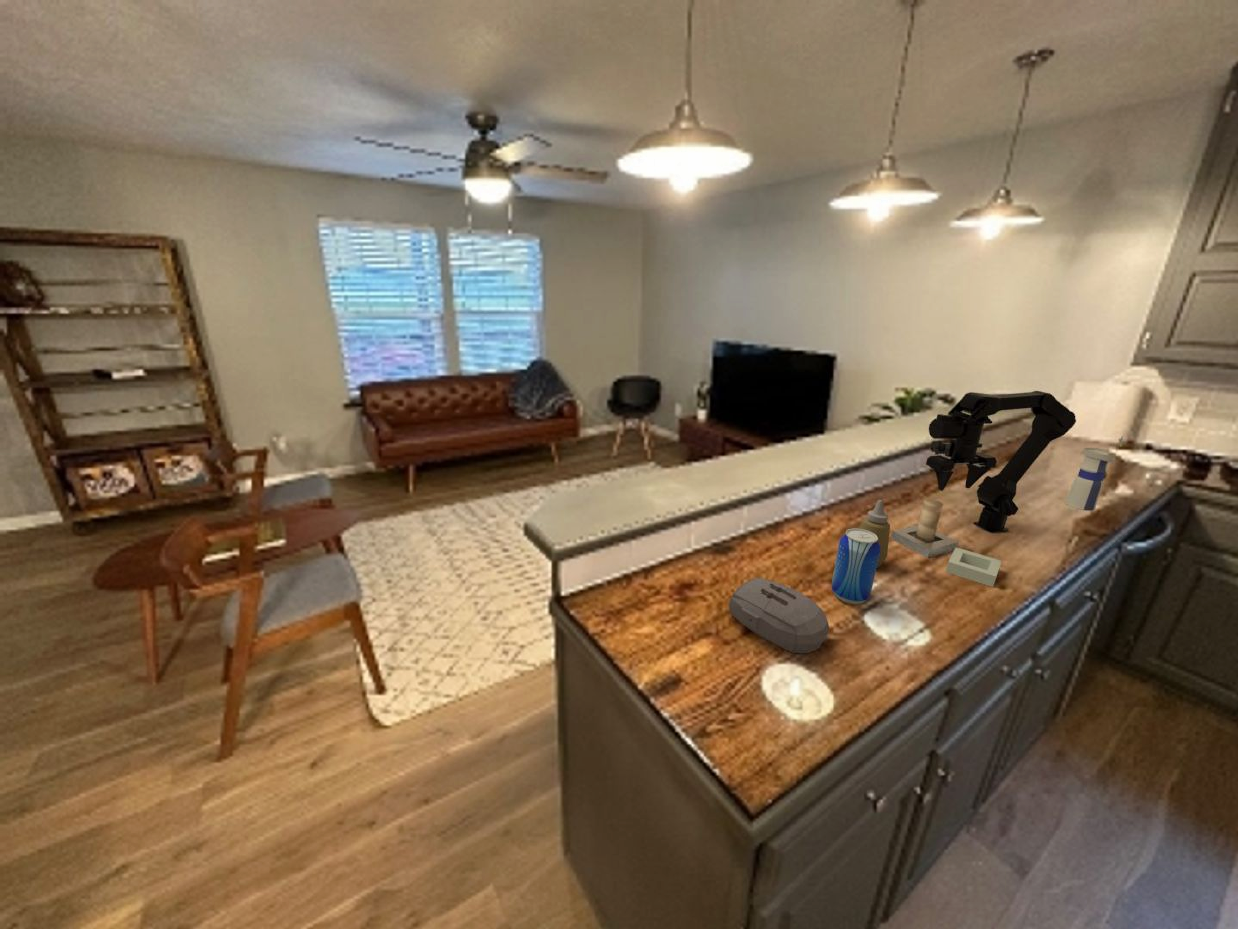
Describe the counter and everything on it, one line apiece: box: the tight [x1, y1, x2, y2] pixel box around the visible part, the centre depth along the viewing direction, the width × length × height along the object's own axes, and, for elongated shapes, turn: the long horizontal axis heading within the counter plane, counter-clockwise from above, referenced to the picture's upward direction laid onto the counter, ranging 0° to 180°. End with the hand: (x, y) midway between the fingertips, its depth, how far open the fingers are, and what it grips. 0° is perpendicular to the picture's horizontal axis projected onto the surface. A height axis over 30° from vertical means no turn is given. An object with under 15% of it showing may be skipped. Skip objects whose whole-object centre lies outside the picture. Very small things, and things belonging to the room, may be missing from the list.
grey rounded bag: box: [728, 577, 831, 654], centre depth 104 cm, size 15×8×20 cm
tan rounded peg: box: [915, 498, 944, 544], centre depth 138 cm, size 4×4×13 cm
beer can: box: [830, 527, 881, 605], centre depth 114 cm, size 8×8×16 cm
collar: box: [945, 547, 1002, 588], centre depth 126 cm, size 10×10×3 cm
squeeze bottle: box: [859, 499, 891, 569], centre depth 127 cm, size 8×8×18 cm
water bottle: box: [1064, 436, 1125, 512], centre depth 162 cm, size 8×9×25 cm
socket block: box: [890, 524, 959, 559], centre depth 140 cm, size 12×12×2 cm
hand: (954, 489), depth 145 cm, fingers open, 9 cm apart
